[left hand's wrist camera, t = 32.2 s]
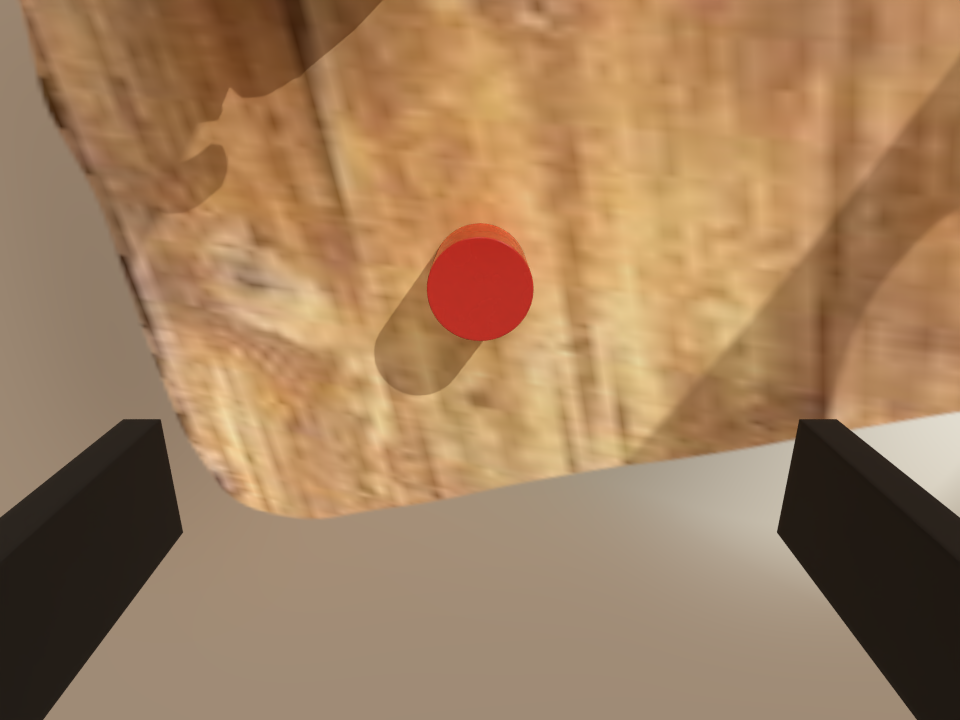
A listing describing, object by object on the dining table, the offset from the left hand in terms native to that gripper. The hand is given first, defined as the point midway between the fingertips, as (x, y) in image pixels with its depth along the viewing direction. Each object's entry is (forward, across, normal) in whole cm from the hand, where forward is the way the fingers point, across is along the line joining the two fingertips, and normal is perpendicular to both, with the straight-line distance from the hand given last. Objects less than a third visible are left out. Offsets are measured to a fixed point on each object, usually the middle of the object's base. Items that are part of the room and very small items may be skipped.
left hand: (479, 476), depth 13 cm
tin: (+20, 0, 0) cm, 20 cm away
